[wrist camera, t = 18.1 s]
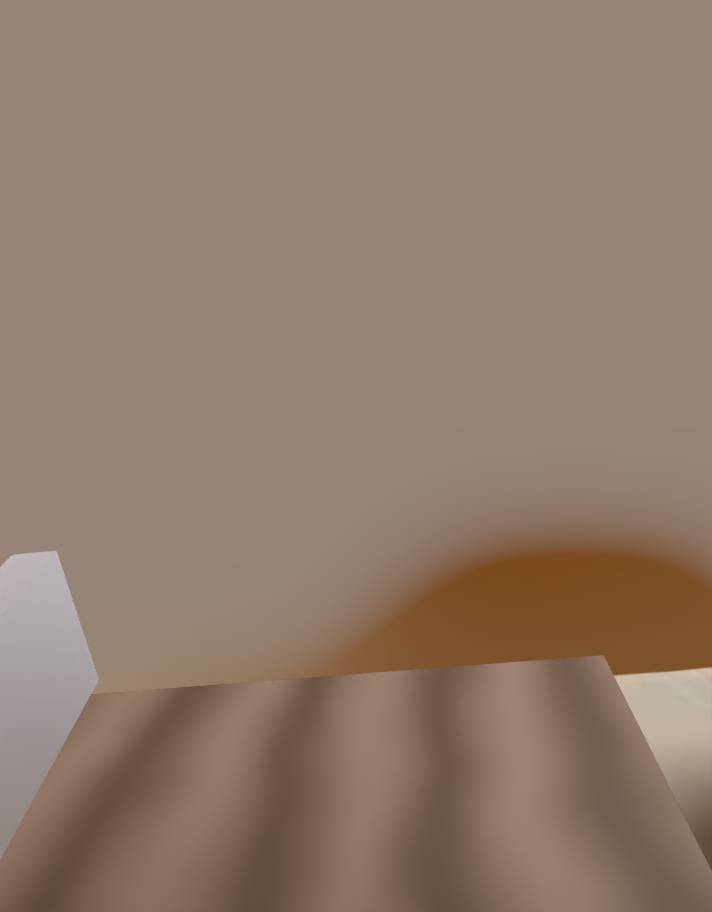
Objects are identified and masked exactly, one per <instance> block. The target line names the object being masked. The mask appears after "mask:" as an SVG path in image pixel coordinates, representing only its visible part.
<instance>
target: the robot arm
mask: <svg viewBox="0 0 712 912" xmlns="http://www.w3.org/2000/svg"><path fill="white" fill-rule="evenodd" d="M98 681H99V680H98V677H97V674H96V671H95V668H94V665H93V662H92V659H91V656H90V653H89V649H88V646H87V643H86V640H85V637H84V634H83V631H82V628H81V625H80V622H79V619H78V615H77V612H76V609H75V606H74V604H73V600H72V597H71V594H70V591H69V588H68V585H67V582H66V579H65V576H64V573H63V569H62V566H61V563H60V560H59V557H58V554H57V551H49V552H38V553H28V554H27V553H26V554H15V555H12V556H11V557H10V558H9V559H8V560H7V561H6V562H5V563H4V564H3V565H2V566H1V567H0V859H1V858H2V856H3V854H4V852H5V850H6V849H7V847H8V845H9V843H10V841H11V839H12V838H13V836H14V834H15V832H16V830H17V828H18V827H19V825H20V823H21V821H22V819H23V818H24V816H25V814H26V812H27V810H28V808H29V807H30V805H31V803H32V801H33V799H34V797H35V796H36V794H37V792H38V790H39V788H40V787H41V785H42V783H43V781H44V779H45V777H46V776H47V774H48V772H49V770H50V768H51V766H52V765H53V763H54V761H55V759H56V757H57V756H58V754H59V752H60V750H61V748H62V746H63V745H64V743H65V741H66V739H67V737H68V735H69V734H70V732H71V730H72V728H73V726H74V725H75V723H76V721H77V719H78V717H79V715H80V714H81V712H82V710H83V708H84V706H85V704H86V703H87V701H88V699H89V697H90V695H91V694H92V692H93V690H94V688H95V686H96V684H97V683H98Z"/></svg>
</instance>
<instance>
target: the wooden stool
mask: <svg viewBox="0 0 712 912" xmlns="http://www.w3.org/2000/svg"><path fill="white" fill-rule="evenodd" d="M0 912H712V870H711V868H710V866H709V864H708V862H707V860H706V858H705V856H704V854H703V852H702V851H701V849H700V847H699V845H698V843H697V841H696V839H695V837H694V835H693V833H692V831H691V829H690V827H689V825H688V823H687V821H686V819H685V817H684V815H683V813H682V811H681V809H680V807H679V805H678V803H677V801H676V799H675V797H674V795H673V793H672V791H671V789H670V787H669V785H668V783H667V781H666V779H665V777H664V775H663V773H662V771H661V769H660V767H659V765H658V763H657V761H656V759H655V757H654V755H653V753H652V751H651V749H650V747H649V745H648V743H647V741H646V739H645V737H644V735H643V733H642V731H641V729H640V727H639V725H638V723H637V721H636V719H635V717H634V715H633V713H632V711H631V709H630V707H629V705H628V703H627V701H626V699H625V697H624V695H623V693H622V691H621V689H620V687H619V685H618V683H617V681H616V680H615V678H614V676H613V674H612V672H611V670H610V668H609V666H608V664H607V662H606V660H605V658H604V656H590V657H577V658H563V659H551V660H538V661H523V662H511V663H497V664H484V665H471V666H458V667H444V668H431V669H418V670H406V671H392V672H379V673H366V674H352V675H339V676H326V677H313V678H300V679H287V680H275V681H274V680H273V681H260V682H247V683H234V684H221V685H207V686H195V687H181V688H167V689H155V690H142V691H128V692H115V693H104V694H103V693H102V694H91V695H90V697H89V699H88V701H87V703H86V704H85V706H84V708H83V710H82V712H81V714H80V715H79V717H78V719H77V721H76V723H75V725H74V726H73V728H72V730H71V732H70V734H69V735H68V737H67V739H66V741H65V743H64V745H63V746H62V748H61V750H60V752H59V754H58V756H57V757H56V759H55V761H54V763H53V765H52V766H51V768H50V770H49V772H48V774H47V776H46V777H45V779H44V781H43V783H42V785H41V787H40V788H39V790H38V792H37V794H36V796H35V797H34V799H33V801H32V803H31V805H30V807H29V808H28V810H27V812H26V814H25V816H24V818H23V819H22V821H21V823H20V825H19V827H18V828H17V830H16V832H15V834H14V836H13V838H12V839H11V841H10V843H9V845H8V847H7V849H6V850H5V852H4V854H3V856H2V858H1V859H0Z"/></svg>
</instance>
